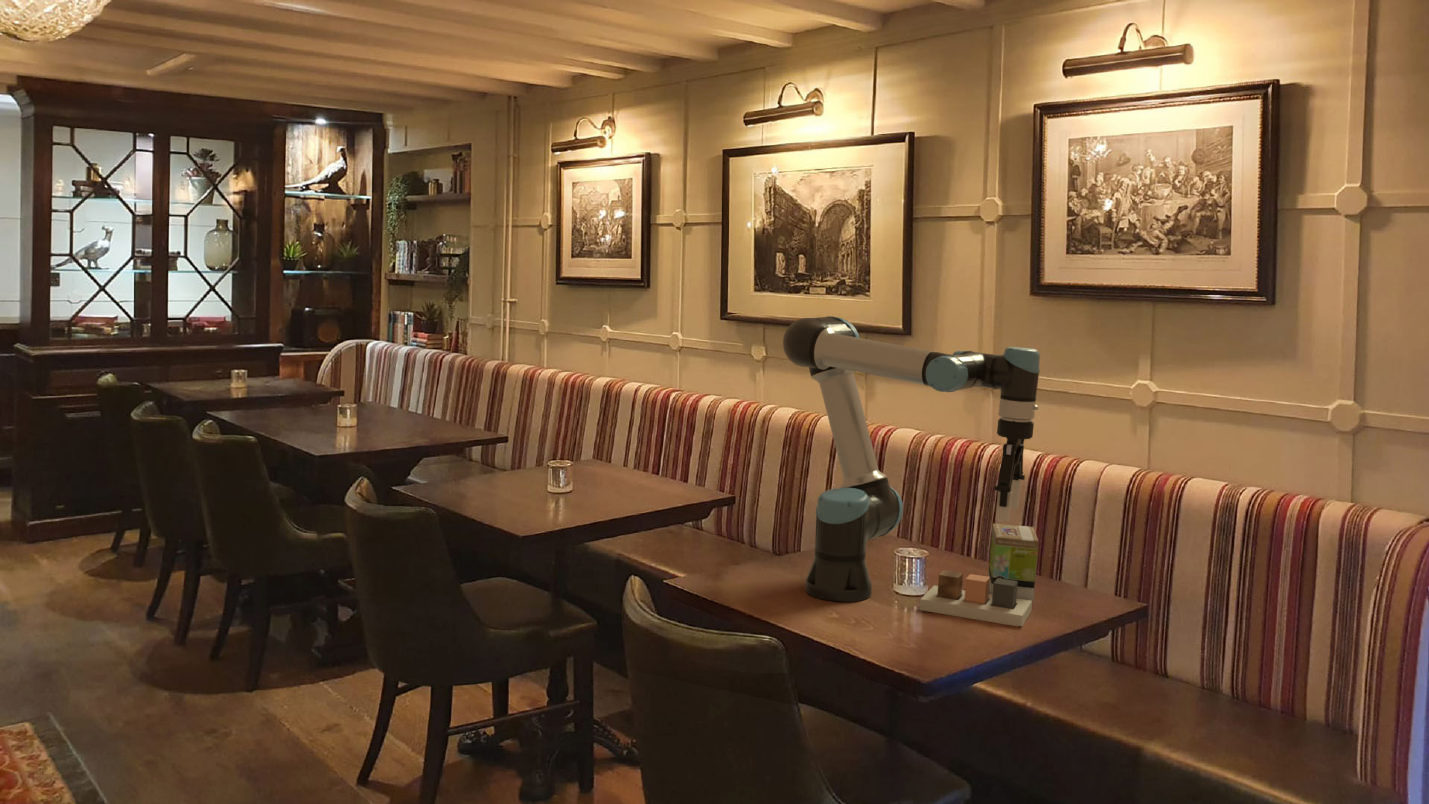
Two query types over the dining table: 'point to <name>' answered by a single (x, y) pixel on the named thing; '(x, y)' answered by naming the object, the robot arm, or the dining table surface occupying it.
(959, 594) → the key walnut
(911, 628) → the dining table surface
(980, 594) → the key terracotta
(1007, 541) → the tea box
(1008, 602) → the key dark grey
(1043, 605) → the dining table surface
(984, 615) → the key panel
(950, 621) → the dining table surface
